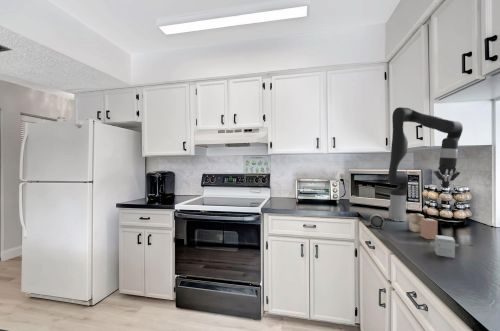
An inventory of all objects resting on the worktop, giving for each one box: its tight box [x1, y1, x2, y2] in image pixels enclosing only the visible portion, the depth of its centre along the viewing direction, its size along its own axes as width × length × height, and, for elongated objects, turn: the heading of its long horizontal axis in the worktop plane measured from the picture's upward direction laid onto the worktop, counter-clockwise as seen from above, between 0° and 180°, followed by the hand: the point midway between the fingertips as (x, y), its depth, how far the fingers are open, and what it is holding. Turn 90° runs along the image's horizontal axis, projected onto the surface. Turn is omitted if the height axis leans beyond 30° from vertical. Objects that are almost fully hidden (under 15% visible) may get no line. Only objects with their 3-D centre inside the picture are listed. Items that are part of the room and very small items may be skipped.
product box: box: [434, 234, 456, 259], centre depth 106 cm, size 6×6×7 cm
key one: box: [408, 213, 425, 233], centre depth 137 cm, size 5×5×9 cm
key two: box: [420, 217, 439, 240], centre depth 125 cm, size 5×5×9 cm
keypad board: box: [426, 241, 460, 247], centre depth 130 cm, size 26×12×1 cm, turn 170°
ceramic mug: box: [363, 213, 385, 229], centre depth 152 cm, size 11×8×8 cm
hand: (445, 187), depth 139 cm, fingers closed
